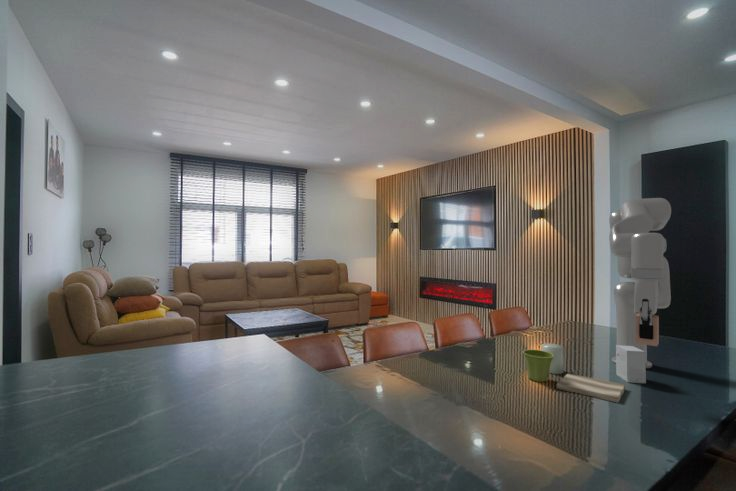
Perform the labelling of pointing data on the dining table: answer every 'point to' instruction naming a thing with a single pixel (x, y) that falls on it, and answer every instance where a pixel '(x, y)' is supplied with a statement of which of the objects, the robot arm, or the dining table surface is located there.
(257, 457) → the dining table surface
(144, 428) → the dining table surface
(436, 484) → the dining table surface
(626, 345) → the robot arm
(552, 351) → the pale rounded smooth block
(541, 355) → the plant pot
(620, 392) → the board
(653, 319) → the block
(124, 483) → the dining table surface
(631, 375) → the small box
